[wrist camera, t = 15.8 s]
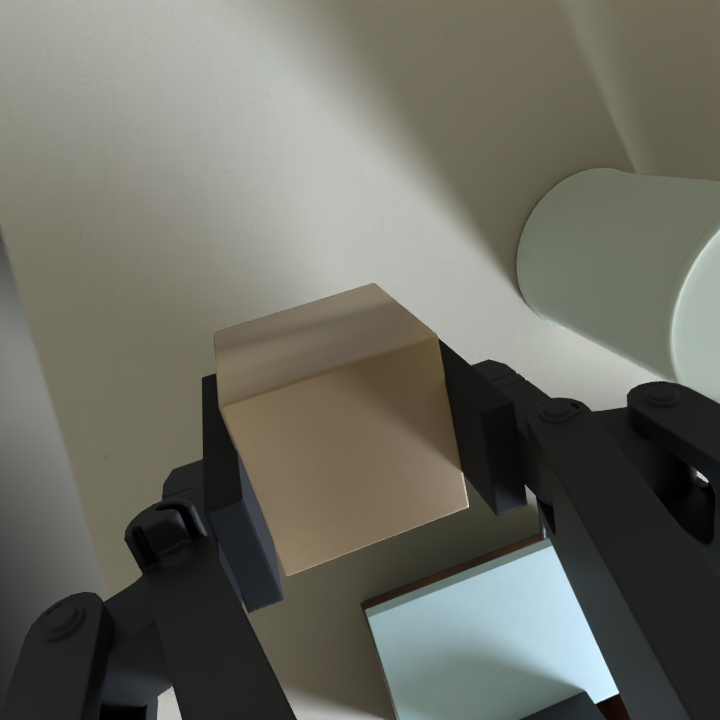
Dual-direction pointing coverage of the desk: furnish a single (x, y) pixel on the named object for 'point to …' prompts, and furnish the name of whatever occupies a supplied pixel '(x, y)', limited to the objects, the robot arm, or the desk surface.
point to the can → (631, 269)
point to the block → (340, 423)
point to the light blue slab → (493, 645)
